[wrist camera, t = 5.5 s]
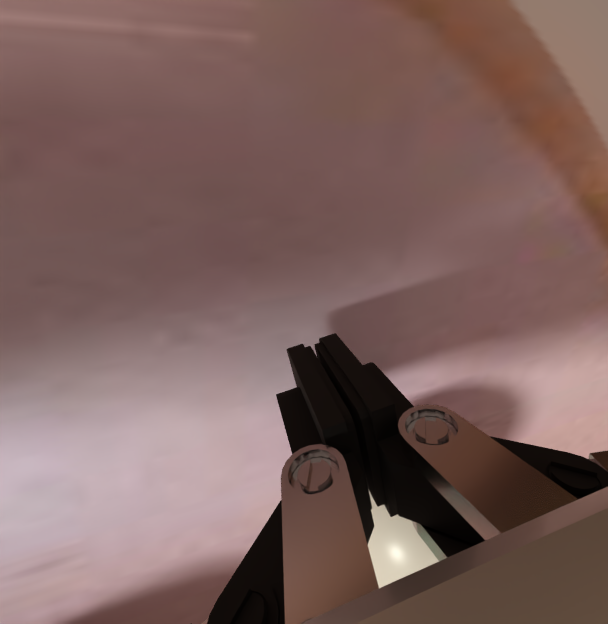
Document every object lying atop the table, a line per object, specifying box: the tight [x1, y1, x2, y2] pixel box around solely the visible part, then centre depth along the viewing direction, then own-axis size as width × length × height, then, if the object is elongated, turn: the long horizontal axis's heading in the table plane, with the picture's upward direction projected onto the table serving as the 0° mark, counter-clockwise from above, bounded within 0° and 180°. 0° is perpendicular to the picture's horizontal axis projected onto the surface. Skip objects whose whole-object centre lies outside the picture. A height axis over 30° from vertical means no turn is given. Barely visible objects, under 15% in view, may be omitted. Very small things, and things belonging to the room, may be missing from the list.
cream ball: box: [368, 489, 439, 588], centre depth 12 cm, size 6×6×6 cm
